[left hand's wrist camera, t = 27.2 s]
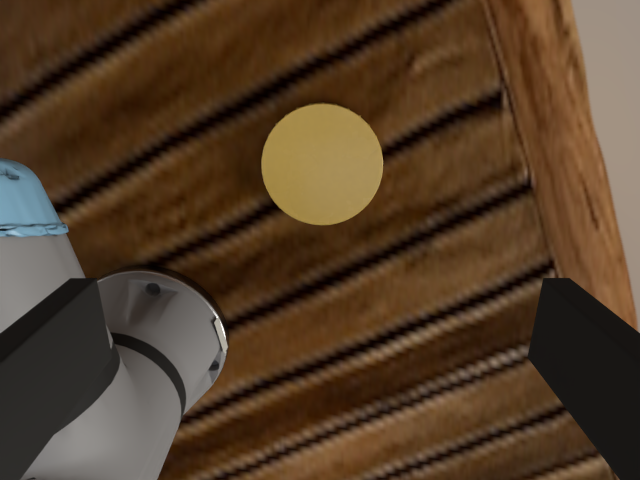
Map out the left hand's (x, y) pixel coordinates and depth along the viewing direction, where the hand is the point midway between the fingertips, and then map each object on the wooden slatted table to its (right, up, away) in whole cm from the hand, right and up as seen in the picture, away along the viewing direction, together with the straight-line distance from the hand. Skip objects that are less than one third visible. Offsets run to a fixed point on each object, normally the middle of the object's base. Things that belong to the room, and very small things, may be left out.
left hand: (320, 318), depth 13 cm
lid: (0, +8, +23) cm, 24 cm away
